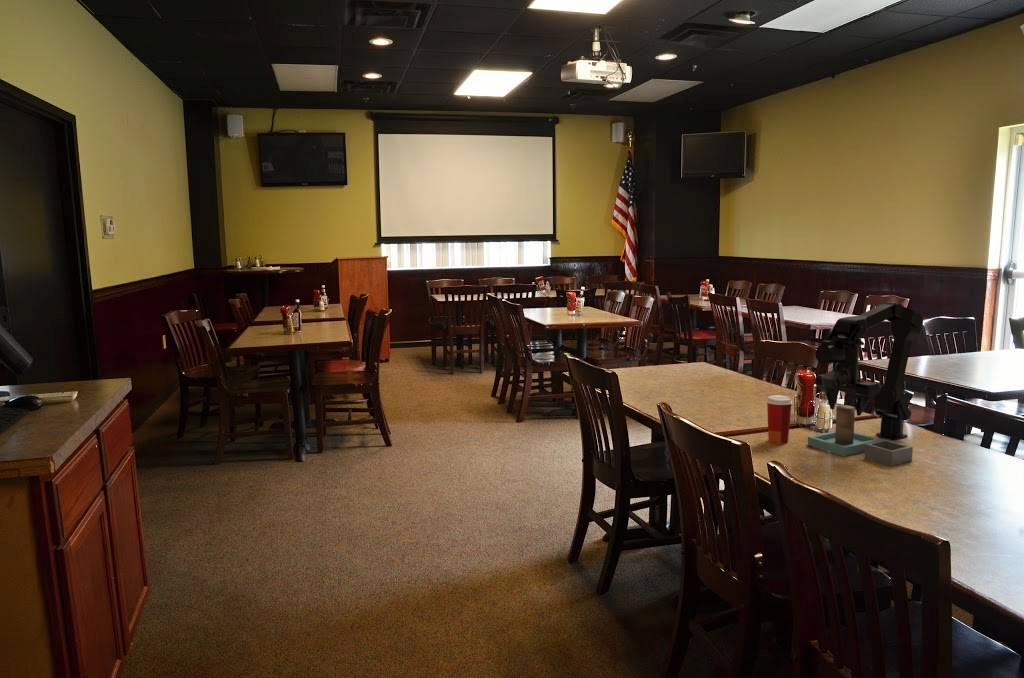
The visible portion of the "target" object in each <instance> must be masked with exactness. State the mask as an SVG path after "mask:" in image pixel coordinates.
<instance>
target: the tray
mask: <svg viewBox="0 0 1024 678" xmlns="http://www.w3.org/2000/svg"><path fill="white" fill-rule="evenodd" d="M835 432H836V430H834V431H830V432H825V433H820V434H815V435H810V436H807V446H810V447H814V448H816V449H820V450H823V451H827V452H830V453H833V454H836V455H839V456H843V457H847V456H850V455H856V454H859V452H860V453H865V444H867V443H871V442H876V441H880V440H883V439H882V438H878V437H875V436H871V435H867V434H863V433H861V432H860V433H859V432H855V431H854V439H853V444H851V445H840V444H837V443H835ZM855 453H856V454H855Z"/></svg>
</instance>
